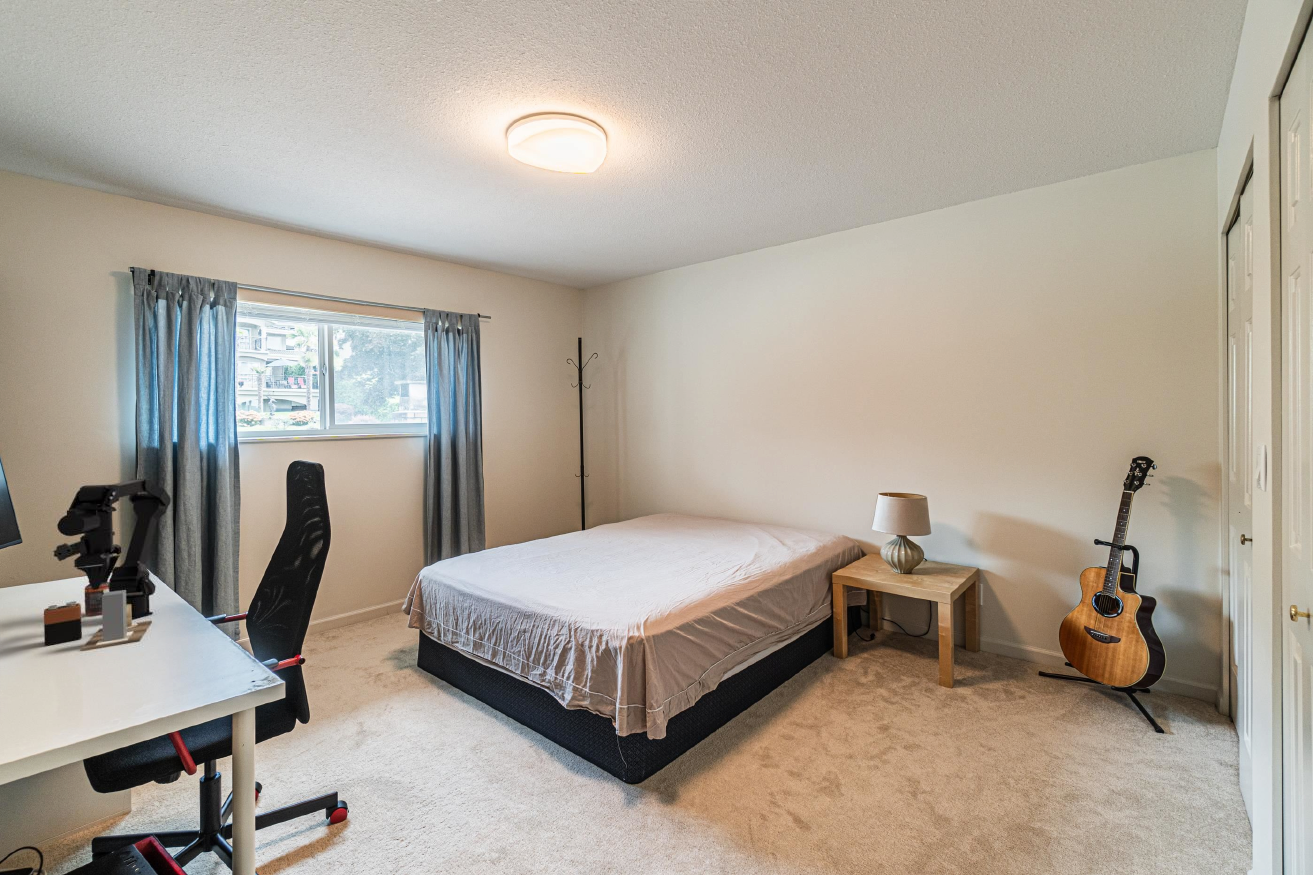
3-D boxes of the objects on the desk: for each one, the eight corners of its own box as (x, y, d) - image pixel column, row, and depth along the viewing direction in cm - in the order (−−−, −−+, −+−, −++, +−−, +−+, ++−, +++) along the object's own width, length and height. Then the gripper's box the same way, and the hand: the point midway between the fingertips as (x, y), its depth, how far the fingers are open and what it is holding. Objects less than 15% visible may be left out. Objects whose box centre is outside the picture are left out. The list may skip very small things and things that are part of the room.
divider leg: (106, 637, 150) (105, 592, 150) (126, 634, 152) (125, 589, 152) (102, 641, 147) (101, 595, 147) (123, 638, 149) (122, 593, 149)
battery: (81, 639, 151) (80, 602, 151) (44, 646, 146) (43, 608, 146) (81, 635, 154) (80, 599, 154) (44, 642, 149) (43, 605, 149)
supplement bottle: (115, 612, 175) (114, 575, 175) (88, 617, 170) (87, 580, 170) (108, 609, 178) (107, 573, 178) (82, 614, 173) (81, 577, 173)
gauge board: (99, 630, 158) (99, 607, 158) (152, 622, 164) (151, 599, 164) (81, 650, 143) (80, 624, 142) (139, 641, 149) (138, 616, 149)
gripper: (67, 528, 159) (68, 583, 159) (45, 538, 144) (47, 599, 144) (120, 524, 165) (122, 577, 165) (105, 533, 150) (107, 591, 150)
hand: (99, 585), depth 156 cm, fingers open, 9 cm apart
